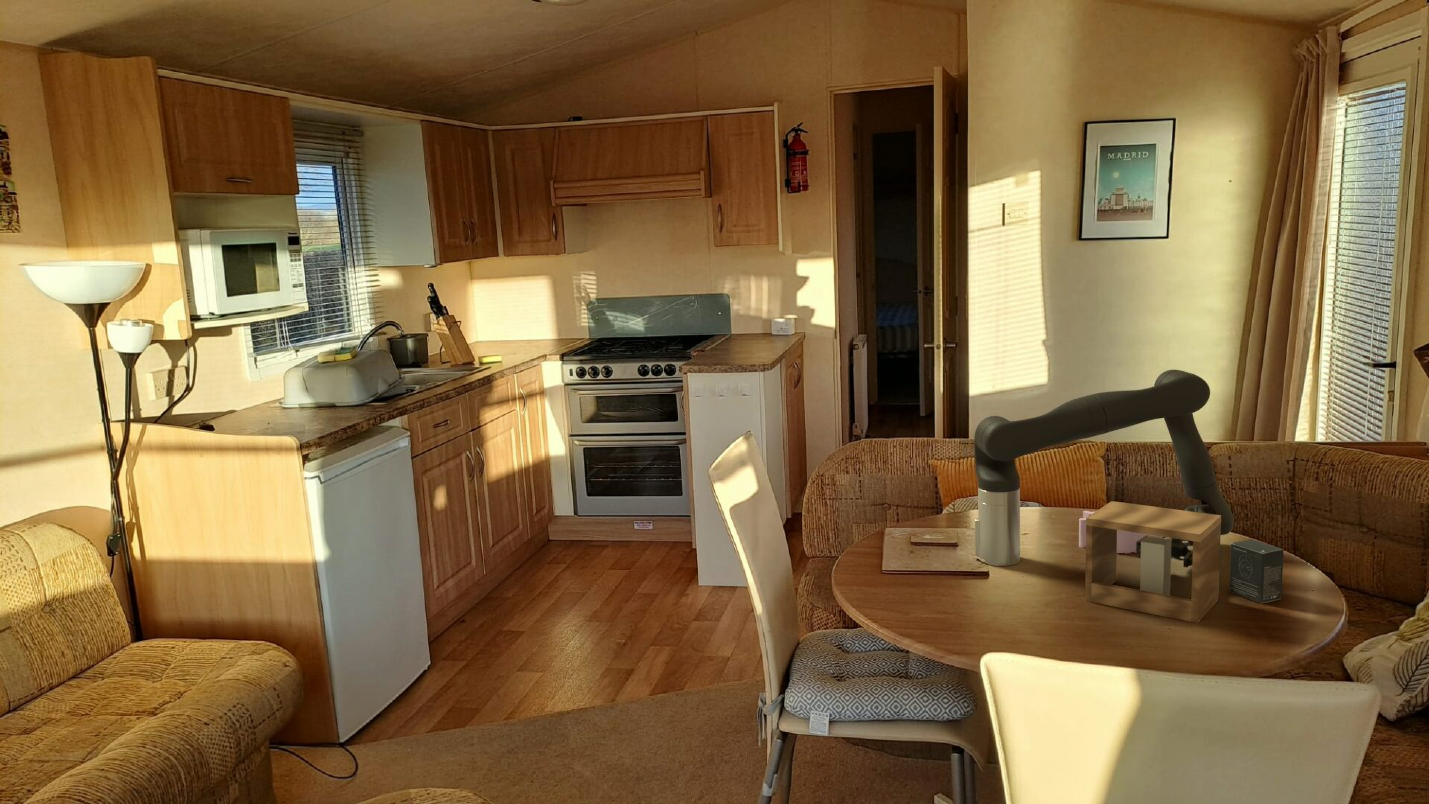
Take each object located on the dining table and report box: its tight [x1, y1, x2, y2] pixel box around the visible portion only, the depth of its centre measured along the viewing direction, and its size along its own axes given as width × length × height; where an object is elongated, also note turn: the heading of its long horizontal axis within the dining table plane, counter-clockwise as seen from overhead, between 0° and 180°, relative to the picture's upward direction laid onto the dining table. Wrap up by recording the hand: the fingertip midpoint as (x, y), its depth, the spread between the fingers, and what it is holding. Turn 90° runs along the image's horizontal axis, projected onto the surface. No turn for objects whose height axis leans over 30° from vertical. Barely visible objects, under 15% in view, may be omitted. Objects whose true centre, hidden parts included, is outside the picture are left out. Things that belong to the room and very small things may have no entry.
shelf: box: [1084, 500, 1222, 624], centre depth 204 cm, size 21×14×18 cm
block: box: [1139, 536, 1172, 596], centre depth 206 cm, size 4×4×12 cm
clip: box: [1078, 510, 1163, 554], centre depth 238 cm, size 20×12×7 cm, turn 63°
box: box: [1229, 539, 1284, 604], centre depth 204 cm, size 8×6×11 cm
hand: (1163, 559), depth 210 cm, fingers open, 8 cm apart
